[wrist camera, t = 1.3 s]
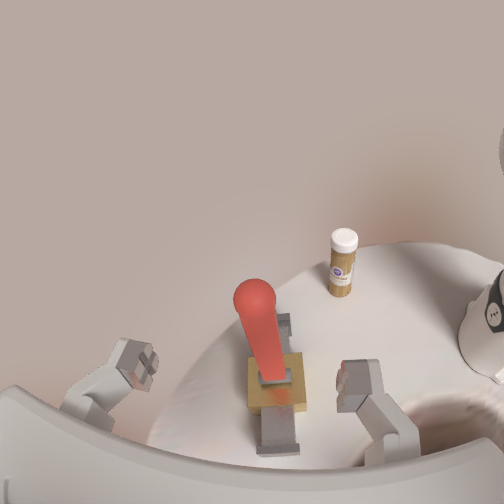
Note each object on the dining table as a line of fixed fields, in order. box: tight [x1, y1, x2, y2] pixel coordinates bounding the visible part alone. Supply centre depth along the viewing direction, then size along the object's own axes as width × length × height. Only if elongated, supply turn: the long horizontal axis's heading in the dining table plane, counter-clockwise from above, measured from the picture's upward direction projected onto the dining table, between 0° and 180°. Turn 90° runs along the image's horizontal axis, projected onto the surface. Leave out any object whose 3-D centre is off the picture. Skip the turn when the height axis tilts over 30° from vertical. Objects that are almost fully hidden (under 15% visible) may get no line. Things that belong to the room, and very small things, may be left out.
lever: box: [233, 279, 292, 385], centre depth 29 cm, size 4×4×21 cm
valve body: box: [247, 313, 306, 457], centre depth 38 cm, size 8×22×5 cm, turn 0°
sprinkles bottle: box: [329, 228, 358, 297], centre depth 48 cm, size 5×5×14 cm
